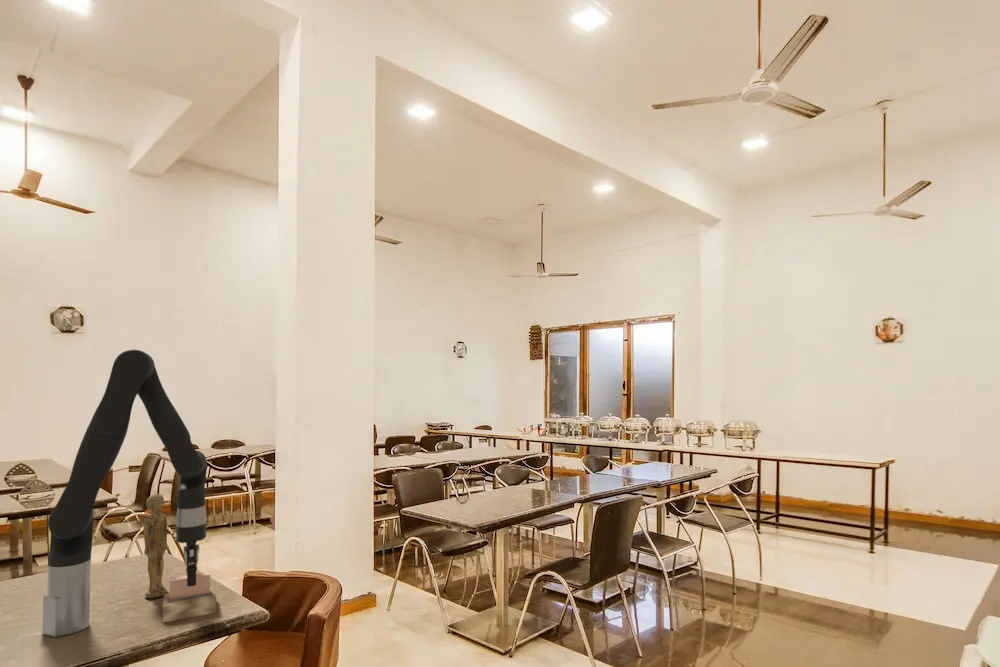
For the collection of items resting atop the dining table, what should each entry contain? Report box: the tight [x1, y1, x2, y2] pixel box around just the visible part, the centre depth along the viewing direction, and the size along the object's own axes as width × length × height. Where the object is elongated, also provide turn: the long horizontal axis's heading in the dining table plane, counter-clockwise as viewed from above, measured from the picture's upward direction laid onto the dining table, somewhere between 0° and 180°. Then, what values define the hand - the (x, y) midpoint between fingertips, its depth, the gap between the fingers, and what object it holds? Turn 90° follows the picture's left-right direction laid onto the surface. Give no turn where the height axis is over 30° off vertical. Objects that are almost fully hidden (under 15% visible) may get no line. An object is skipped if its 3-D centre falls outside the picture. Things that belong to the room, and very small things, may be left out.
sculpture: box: [143, 493, 170, 599], centre depth 182 cm, size 7×6×30 cm
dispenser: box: [162, 585, 217, 623], centre depth 170 cm, size 13×11×5 cm
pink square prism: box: [169, 571, 211, 599], centre depth 170 cm, size 10×3×10 cm, turn 117°
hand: (191, 581), depth 170 cm, fingers open, 8 cm apart
